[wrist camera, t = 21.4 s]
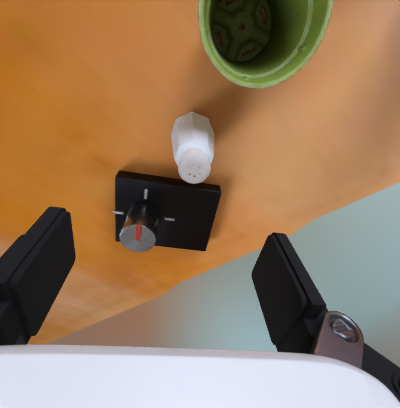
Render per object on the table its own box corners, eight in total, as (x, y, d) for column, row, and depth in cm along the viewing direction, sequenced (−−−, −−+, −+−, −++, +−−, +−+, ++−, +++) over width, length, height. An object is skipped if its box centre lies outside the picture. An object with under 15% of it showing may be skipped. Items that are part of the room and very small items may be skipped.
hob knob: (158, 229, 34) (153, 255, 30) (127, 225, 34) (118, 251, 29) (161, 205, 32) (157, 229, 28) (129, 200, 32) (119, 224, 27)
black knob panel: (116, 232, 37) (113, 241, 35) (116, 169, 31) (112, 176, 30) (204, 242, 39) (205, 252, 37) (220, 185, 33) (221, 192, 31)
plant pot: (271, -64, 20) (318, -132, 13) (298, 51, 25) (344, 48, 18) (178, 0, 22) (173, -28, 15) (219, 95, 27) (230, 110, 20)
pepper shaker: (213, 154, 31) (224, 196, 21) (172, 155, 31) (165, 198, 21) (214, 110, 28) (227, 137, 18) (168, 111, 28) (158, 139, 18)
